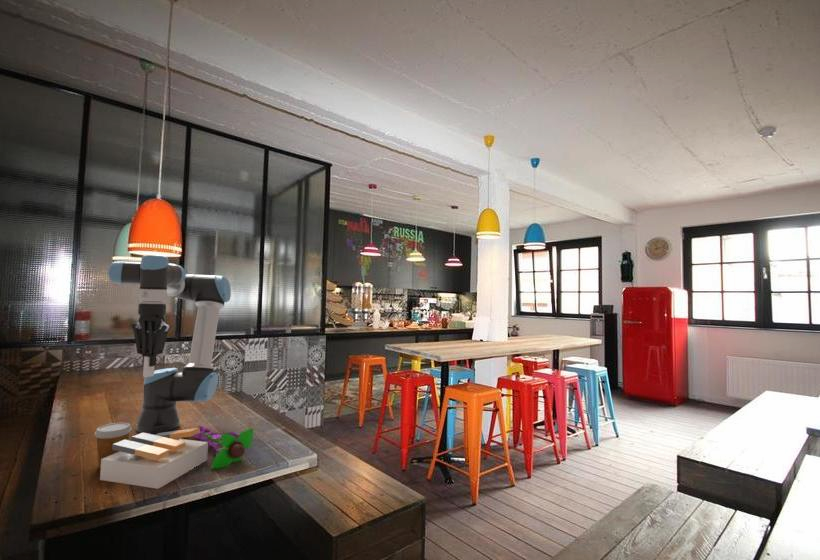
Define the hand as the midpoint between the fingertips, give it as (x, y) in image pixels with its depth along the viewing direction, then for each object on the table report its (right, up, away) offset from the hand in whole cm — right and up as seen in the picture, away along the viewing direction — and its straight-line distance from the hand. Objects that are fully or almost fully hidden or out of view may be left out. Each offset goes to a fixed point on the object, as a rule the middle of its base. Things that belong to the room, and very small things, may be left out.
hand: (148, 376), depth 128 cm
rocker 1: (+4, -20, -9) cm, 22 cm away
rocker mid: (+5, -20, -3) cm, 21 cm away
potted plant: (+16, -30, +11) cm, 36 cm away
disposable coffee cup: (-11, -28, -1) cm, 30 cm away
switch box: (+5, -29, -3) cm, 29 cm away
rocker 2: (+6, -20, +3) cm, 21 cm away
